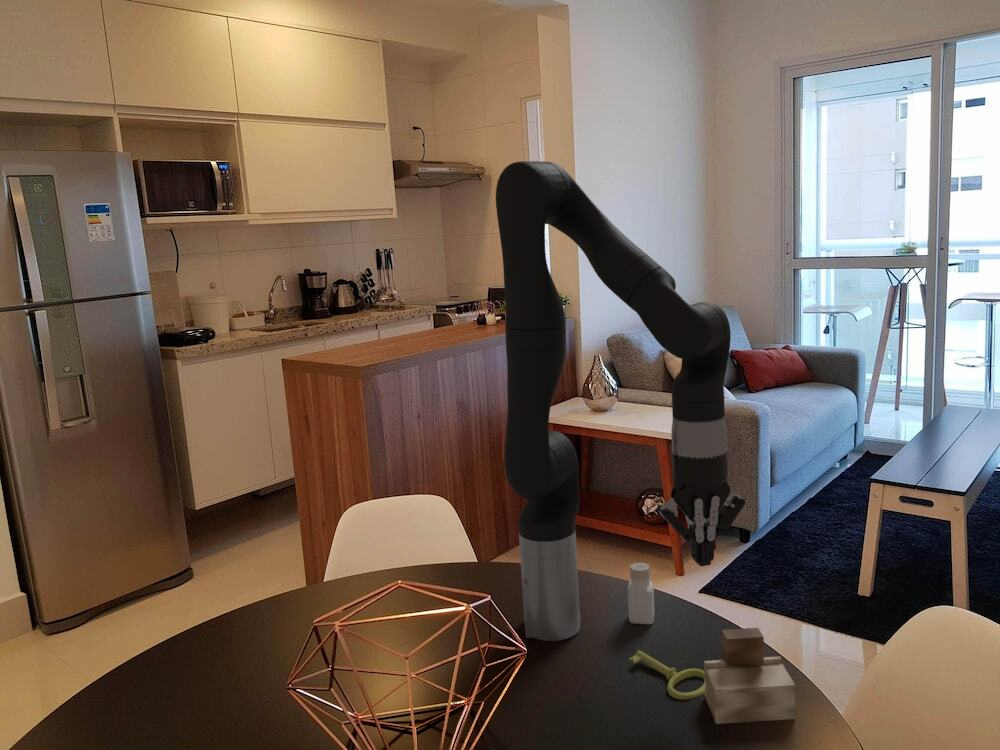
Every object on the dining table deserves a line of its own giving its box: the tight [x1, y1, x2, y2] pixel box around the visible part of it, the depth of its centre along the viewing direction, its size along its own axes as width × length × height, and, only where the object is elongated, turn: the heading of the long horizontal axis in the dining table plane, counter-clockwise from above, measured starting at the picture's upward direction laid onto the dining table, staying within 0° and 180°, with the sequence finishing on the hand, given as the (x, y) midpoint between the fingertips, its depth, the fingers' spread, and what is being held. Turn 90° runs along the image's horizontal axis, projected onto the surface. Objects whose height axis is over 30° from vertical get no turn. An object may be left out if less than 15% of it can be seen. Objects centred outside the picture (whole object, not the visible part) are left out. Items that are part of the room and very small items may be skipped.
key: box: [629, 649, 705, 700], centre depth 119 cm, size 7×12×2 cm, turn 57°
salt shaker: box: [627, 562, 655, 625], centre depth 136 cm, size 4×4×10 cm
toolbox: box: [705, 663, 796, 725], centre depth 110 cm, size 10×5×5 cm, turn 90°
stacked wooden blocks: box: [703, 627, 783, 698], centre depth 111 cm, size 10×6×9 cm, turn 90°
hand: (702, 563), depth 117 cm, fingers closed
